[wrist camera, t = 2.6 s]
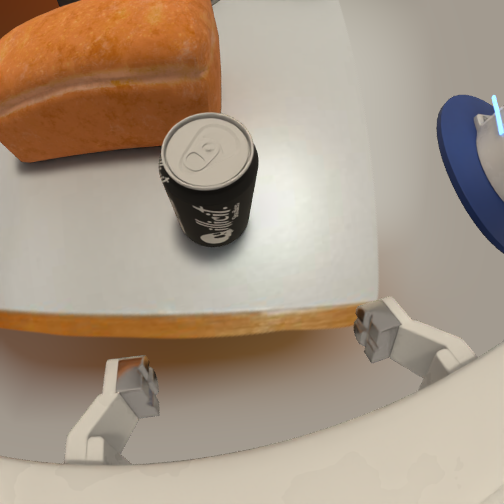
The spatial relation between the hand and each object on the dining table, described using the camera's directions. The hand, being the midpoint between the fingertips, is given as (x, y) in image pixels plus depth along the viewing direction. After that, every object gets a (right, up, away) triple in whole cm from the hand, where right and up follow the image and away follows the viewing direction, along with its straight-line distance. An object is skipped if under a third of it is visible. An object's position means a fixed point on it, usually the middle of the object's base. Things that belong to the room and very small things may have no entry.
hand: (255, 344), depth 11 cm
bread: (-17, +20, +21) cm, 34 cm away
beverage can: (-4, +7, +19) cm, 20 cm away
